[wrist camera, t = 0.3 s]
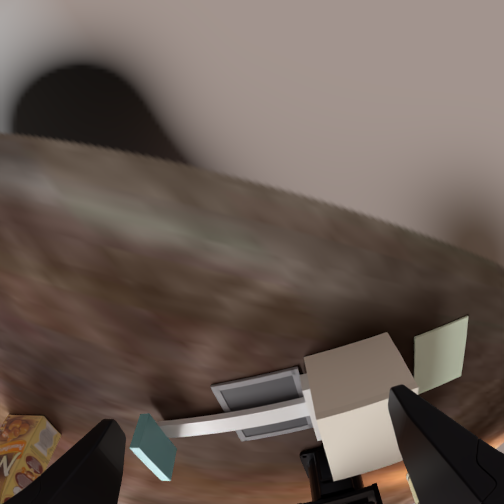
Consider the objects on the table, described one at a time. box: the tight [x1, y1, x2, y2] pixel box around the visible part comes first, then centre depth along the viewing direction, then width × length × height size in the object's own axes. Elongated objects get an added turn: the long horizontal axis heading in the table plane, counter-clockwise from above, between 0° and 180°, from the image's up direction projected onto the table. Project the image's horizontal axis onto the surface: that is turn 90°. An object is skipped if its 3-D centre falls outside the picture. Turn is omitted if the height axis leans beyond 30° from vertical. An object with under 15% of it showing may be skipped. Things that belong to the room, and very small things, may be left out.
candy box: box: [0, 414, 61, 504], centre depth 24 cm, size 9×4×15 cm, turn 109°
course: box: [211, 315, 468, 481], centre depth 23 cm, size 10×24×7 cm, turn 107°
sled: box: [130, 347, 404, 481], centre depth 25 cm, size 8×24×5 cm, turn 107°
